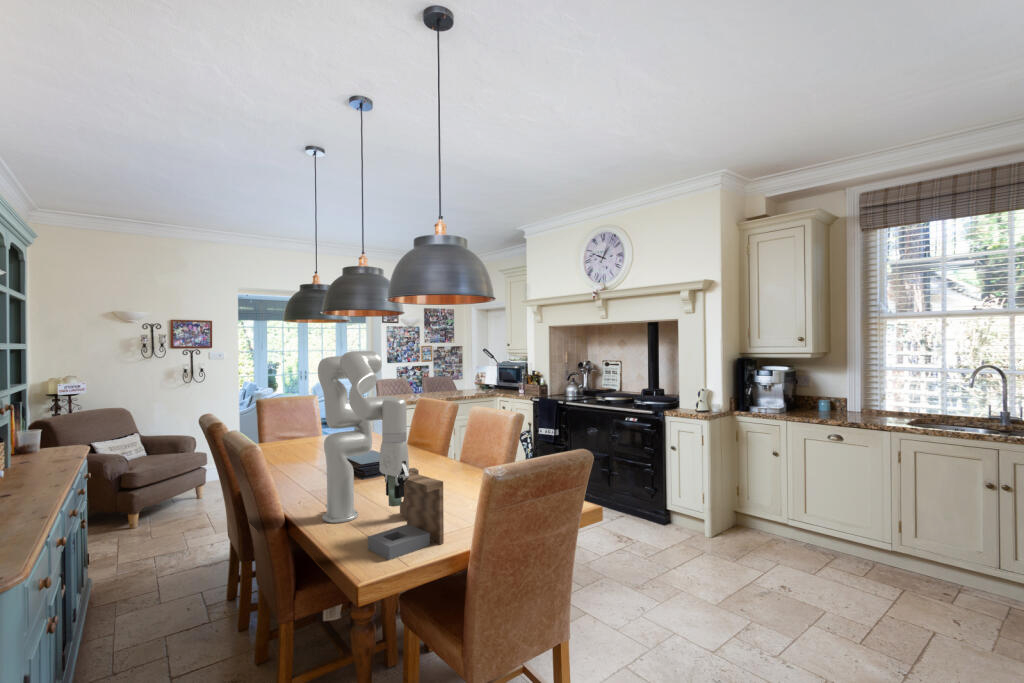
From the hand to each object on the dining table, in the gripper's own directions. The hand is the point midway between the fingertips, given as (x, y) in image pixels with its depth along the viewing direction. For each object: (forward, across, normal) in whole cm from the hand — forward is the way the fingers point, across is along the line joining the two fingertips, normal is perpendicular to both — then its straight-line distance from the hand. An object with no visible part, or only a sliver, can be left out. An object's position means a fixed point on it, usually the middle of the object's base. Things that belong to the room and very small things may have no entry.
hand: (395, 495), depth 160 cm
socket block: (+17, 0, +2) cm, 17 cm away
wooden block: (+17, -22, +21) cm, 35 cm away
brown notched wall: (+17, -1, +10) cm, 19 cm away
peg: (+3, 0, 0) cm, 3 cm away
